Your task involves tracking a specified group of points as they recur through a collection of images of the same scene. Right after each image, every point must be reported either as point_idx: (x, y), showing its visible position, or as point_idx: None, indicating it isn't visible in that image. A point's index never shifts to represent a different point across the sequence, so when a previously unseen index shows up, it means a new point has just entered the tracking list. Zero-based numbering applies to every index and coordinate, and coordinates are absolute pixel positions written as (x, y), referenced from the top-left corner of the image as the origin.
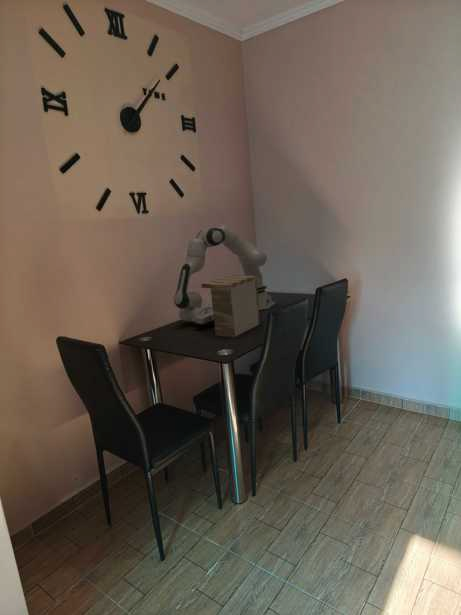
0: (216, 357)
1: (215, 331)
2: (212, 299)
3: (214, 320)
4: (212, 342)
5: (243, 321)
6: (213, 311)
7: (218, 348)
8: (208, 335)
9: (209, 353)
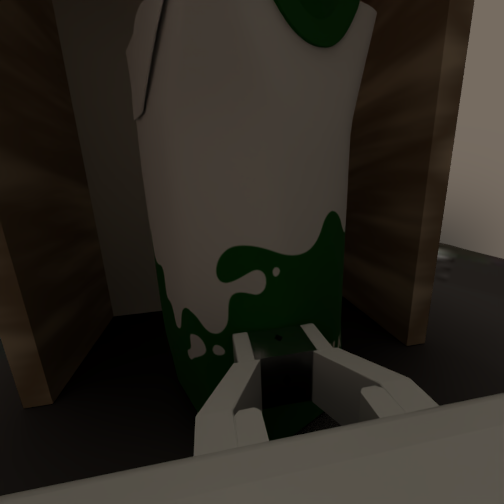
0: (458, 247)
1: (426, 315)
2: (462, 23)
3: (436, 230)
4: (464, 294)
5: None
6: (448, 149)
7: (441, 264)
8: (498, 376)
9: (483, 259)
